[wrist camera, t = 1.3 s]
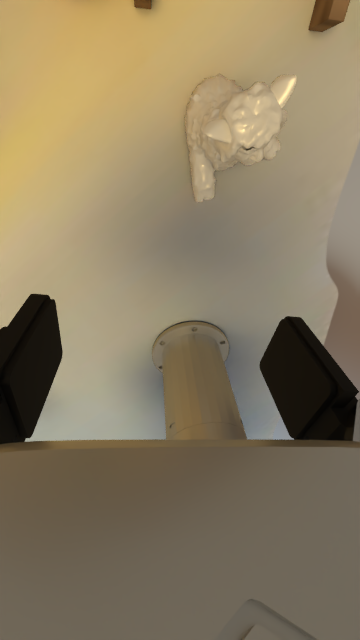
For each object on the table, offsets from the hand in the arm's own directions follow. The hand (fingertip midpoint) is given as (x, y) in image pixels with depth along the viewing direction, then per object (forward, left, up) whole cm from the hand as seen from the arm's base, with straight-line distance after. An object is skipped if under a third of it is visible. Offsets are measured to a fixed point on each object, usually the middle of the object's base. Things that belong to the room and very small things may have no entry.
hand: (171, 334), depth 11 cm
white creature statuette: (+6, -6, -22) cm, 24 cm away
